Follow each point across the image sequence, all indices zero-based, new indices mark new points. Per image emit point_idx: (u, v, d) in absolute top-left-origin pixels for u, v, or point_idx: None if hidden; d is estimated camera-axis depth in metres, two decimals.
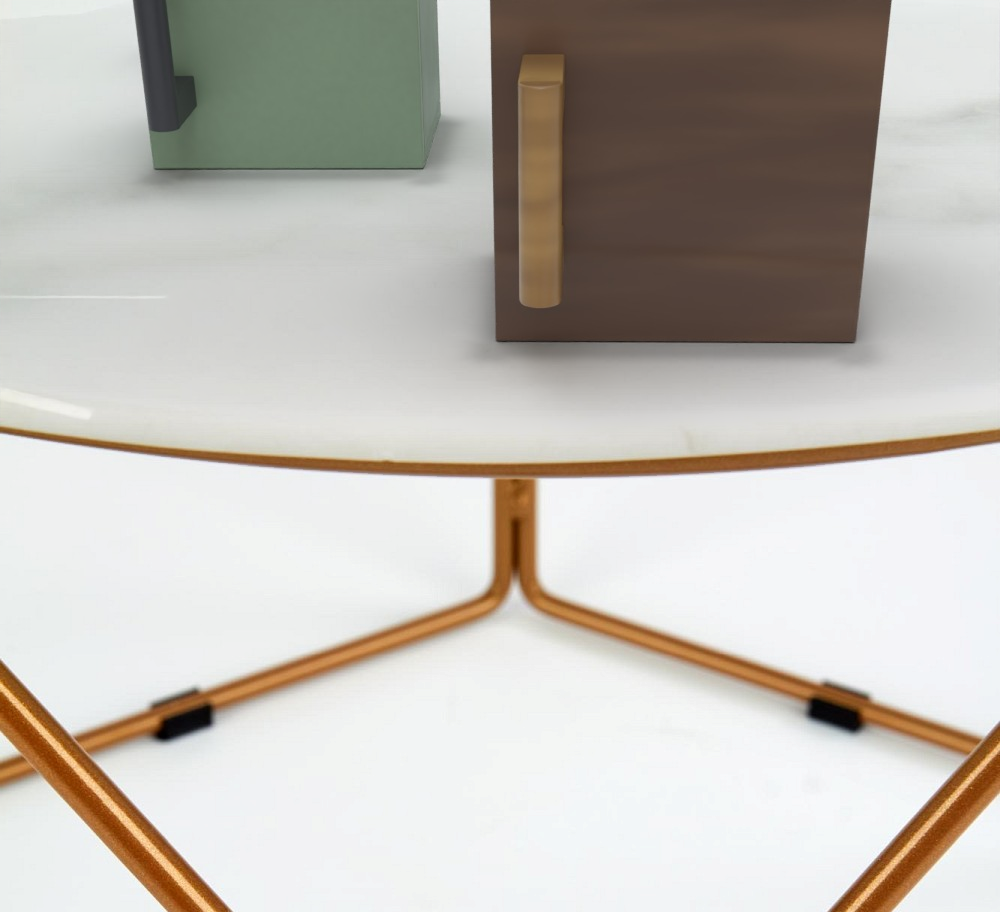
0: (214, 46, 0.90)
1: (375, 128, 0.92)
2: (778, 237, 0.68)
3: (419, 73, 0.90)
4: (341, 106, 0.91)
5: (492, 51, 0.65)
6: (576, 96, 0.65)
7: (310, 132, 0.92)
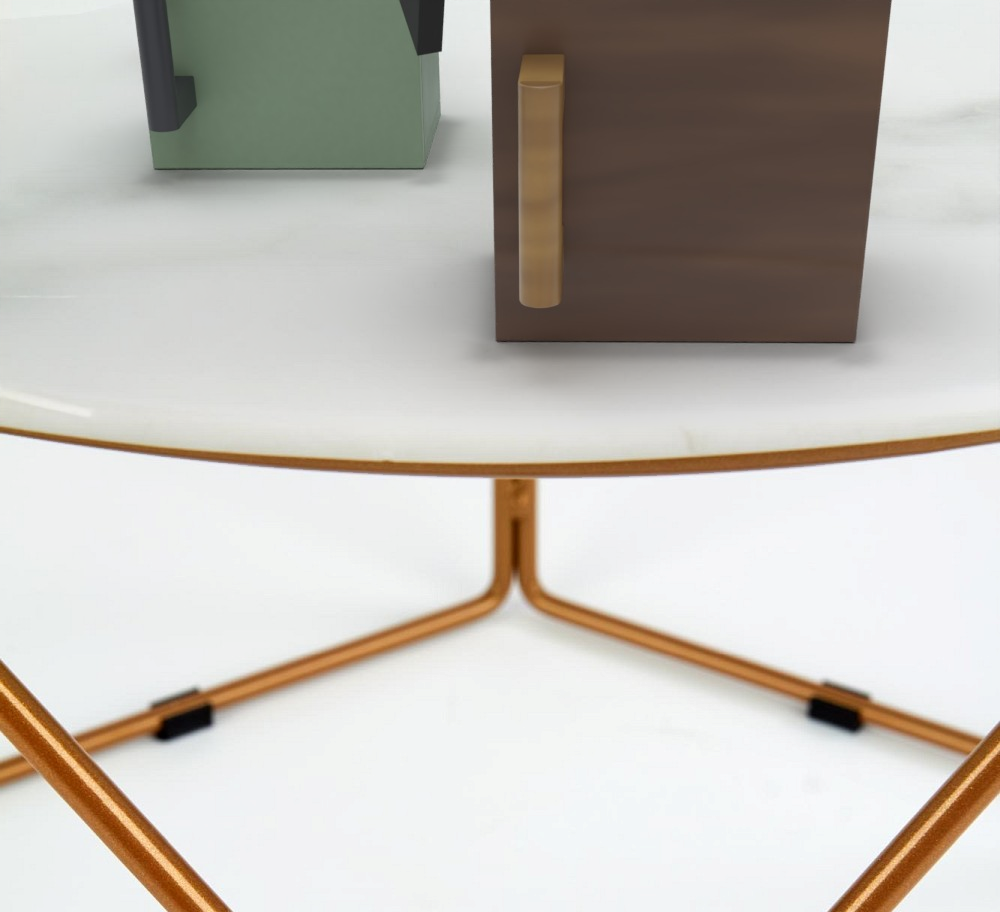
0: (214, 46, 0.90)
1: (375, 128, 0.92)
2: (778, 237, 0.68)
3: (419, 73, 0.90)
4: (341, 106, 0.91)
5: (492, 51, 0.65)
6: (576, 96, 0.65)
7: (310, 132, 0.92)
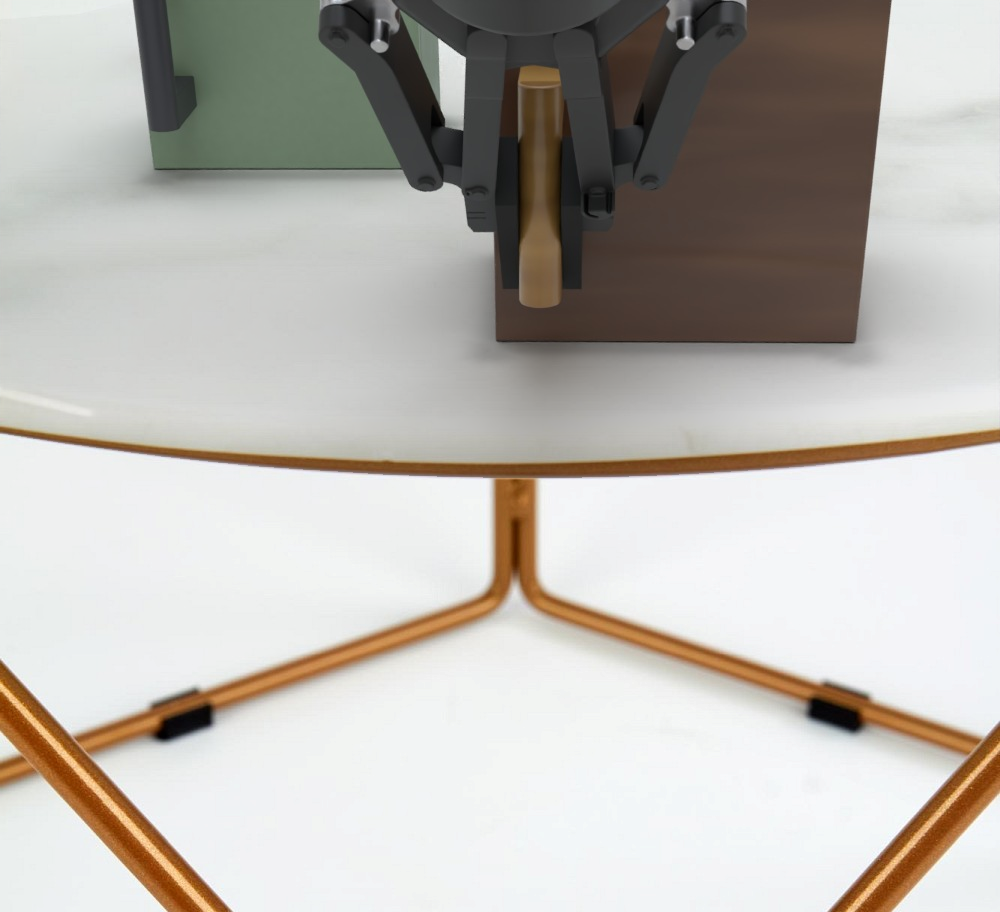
0: (214, 46, 0.90)
1: (375, 128, 0.92)
2: (778, 237, 0.68)
3: None
4: (341, 106, 0.91)
5: None
6: None
7: (310, 132, 0.92)
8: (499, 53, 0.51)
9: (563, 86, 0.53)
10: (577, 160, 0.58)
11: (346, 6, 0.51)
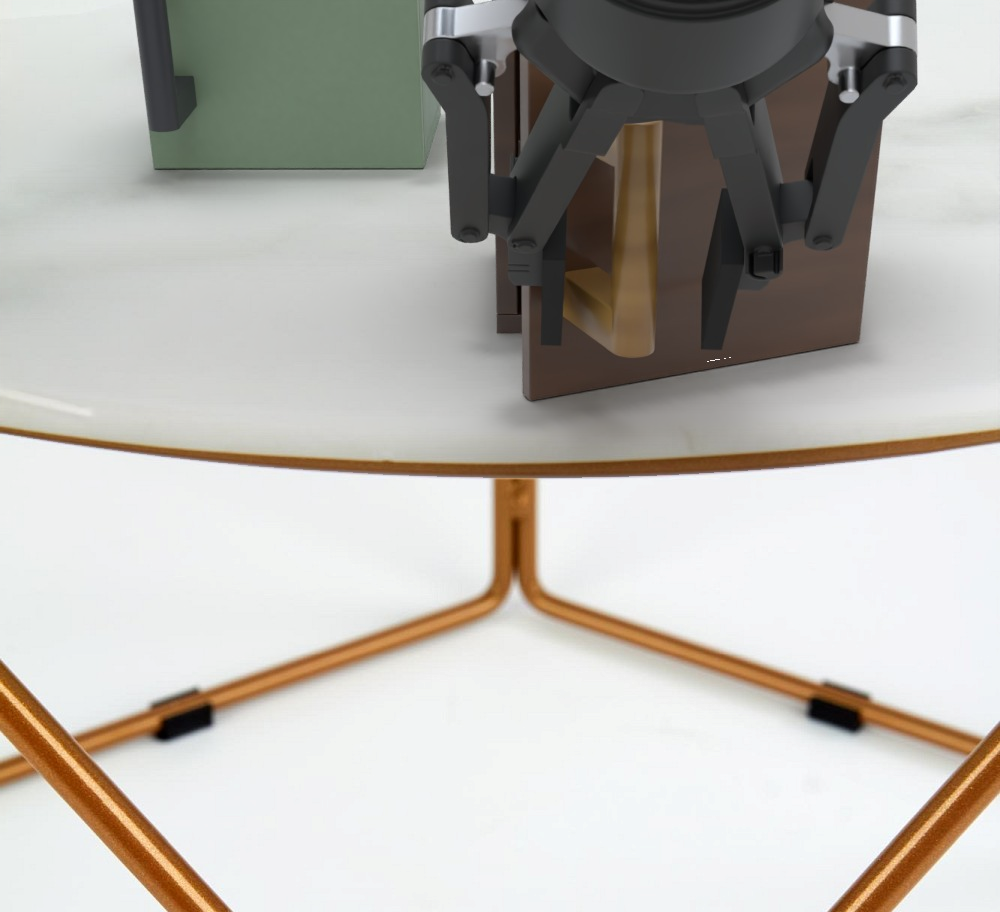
0: (214, 46, 0.90)
1: (375, 128, 0.92)
2: (795, 249, 0.67)
3: (419, 73, 0.90)
4: (341, 106, 0.91)
5: (530, 91, 0.59)
6: None
7: (310, 132, 0.92)
8: (628, 109, 0.46)
9: (712, 145, 0.48)
10: (738, 219, 0.53)
11: (456, 41, 0.46)
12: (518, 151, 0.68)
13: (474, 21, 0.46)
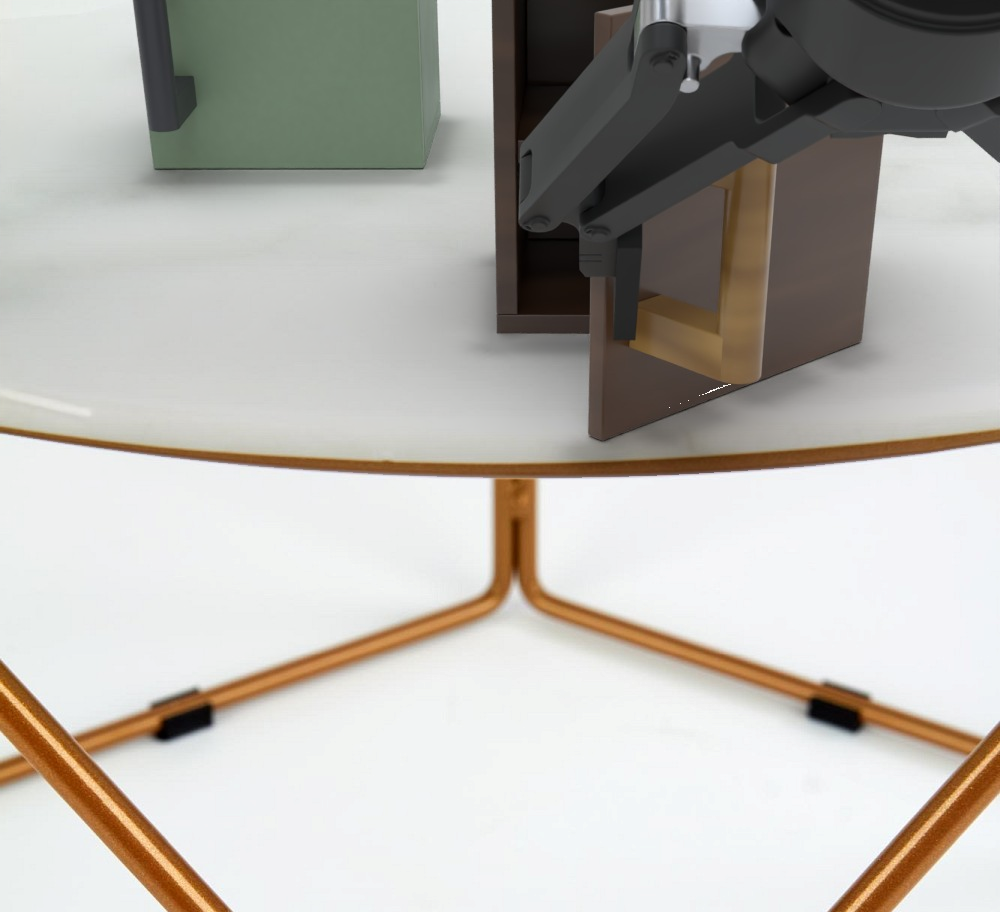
0: (214, 46, 0.90)
1: (375, 128, 0.92)
2: (816, 255, 0.66)
3: (419, 73, 0.90)
4: (341, 106, 0.91)
5: None
6: None
7: (310, 132, 0.92)
8: (851, 125, 0.44)
9: (989, 152, 0.45)
10: None
11: (683, 30, 0.43)
12: (518, 151, 0.68)
13: (707, 14, 0.42)
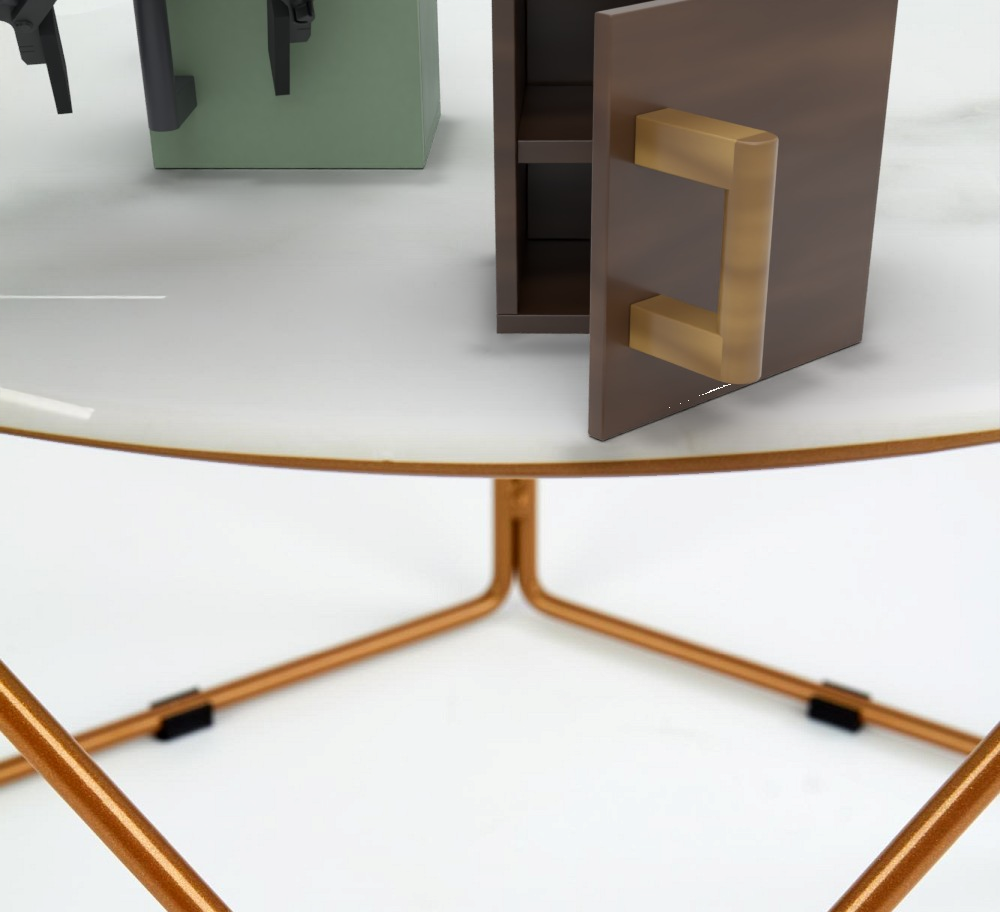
0: (214, 46, 0.90)
1: (375, 128, 0.92)
2: (816, 255, 0.66)
3: (419, 73, 0.90)
4: (341, 106, 0.91)
5: (610, 118, 0.56)
6: None
7: (310, 132, 0.92)
8: None
9: None
10: None
11: None
12: (518, 151, 0.68)
13: None
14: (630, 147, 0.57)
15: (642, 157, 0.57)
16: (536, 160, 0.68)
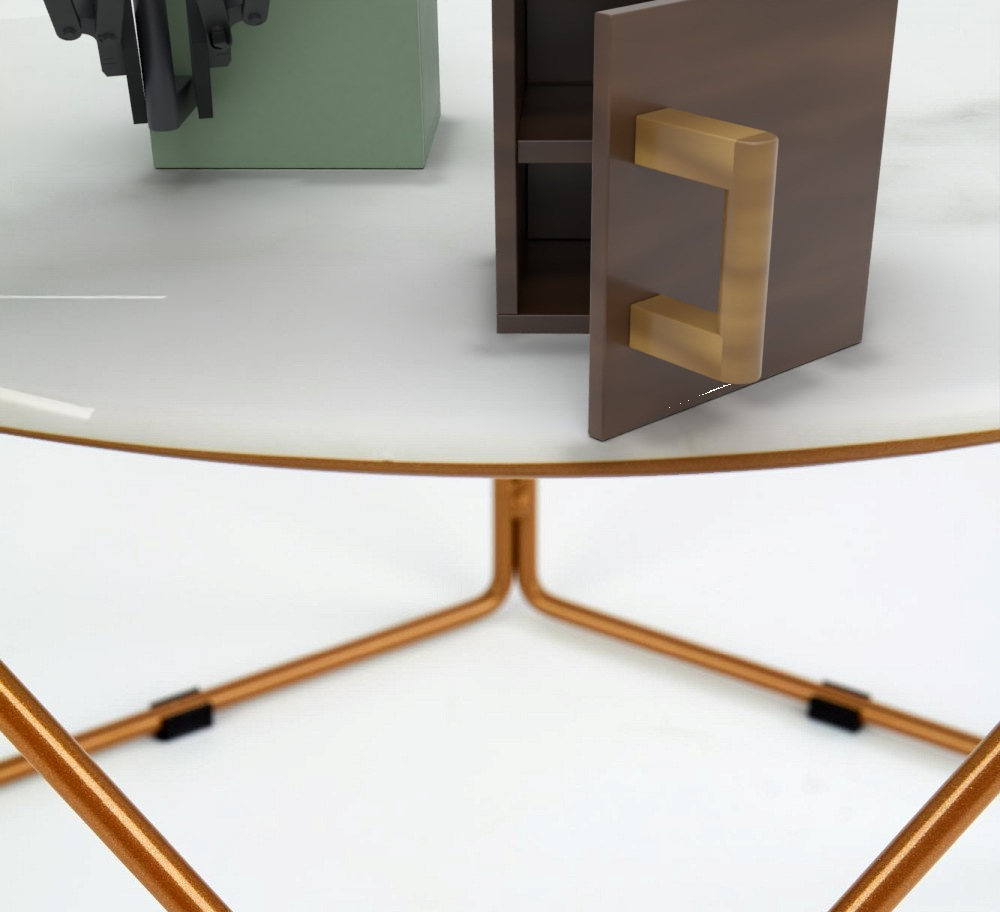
0: None
1: (375, 128, 0.92)
2: (816, 255, 0.66)
3: (419, 73, 0.90)
4: (341, 106, 0.91)
5: (610, 118, 0.56)
6: None
7: (311, 132, 0.92)
8: None
9: None
10: (198, 4, 0.81)
11: None
12: (518, 151, 0.68)
13: None
14: (630, 147, 0.57)
15: (642, 157, 0.57)
16: (536, 160, 0.68)
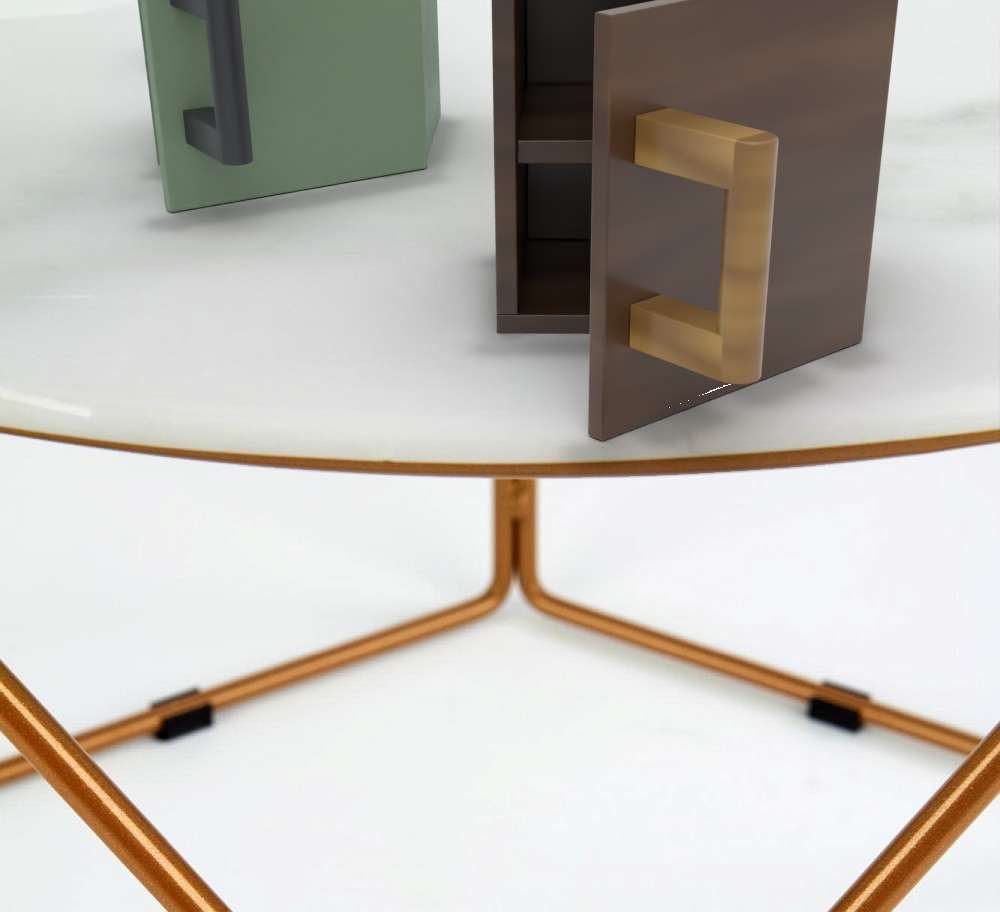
0: None
1: (384, 134, 0.91)
2: (816, 255, 0.66)
3: (422, 73, 0.90)
4: (353, 117, 0.89)
5: (610, 118, 0.56)
6: None
7: (325, 149, 0.89)
8: None
9: None
10: None
11: None
12: (518, 151, 0.68)
13: None
14: (630, 147, 0.57)
15: (642, 157, 0.57)
16: (536, 160, 0.68)
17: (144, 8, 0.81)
